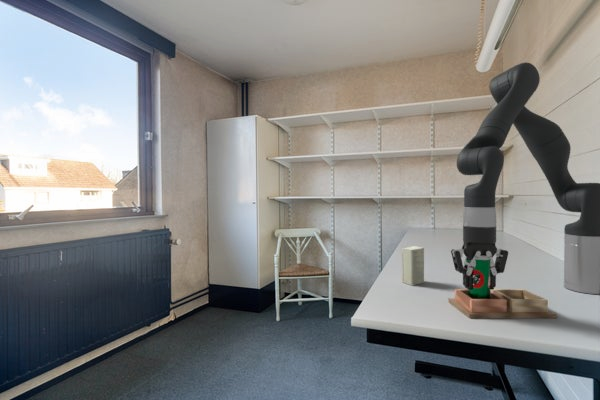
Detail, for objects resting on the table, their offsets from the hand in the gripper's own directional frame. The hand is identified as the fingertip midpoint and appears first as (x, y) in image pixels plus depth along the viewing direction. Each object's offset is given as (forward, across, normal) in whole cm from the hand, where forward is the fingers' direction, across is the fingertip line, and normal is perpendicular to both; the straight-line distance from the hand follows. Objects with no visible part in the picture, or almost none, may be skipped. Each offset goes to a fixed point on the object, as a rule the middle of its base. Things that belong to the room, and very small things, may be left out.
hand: (479, 288), depth 80 cm
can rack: (+6, -5, 0) cm, 8 cm away
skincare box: (+6, +9, -24) cm, 26 cm away
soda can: (+3, 0, 0) cm, 3 cm away
